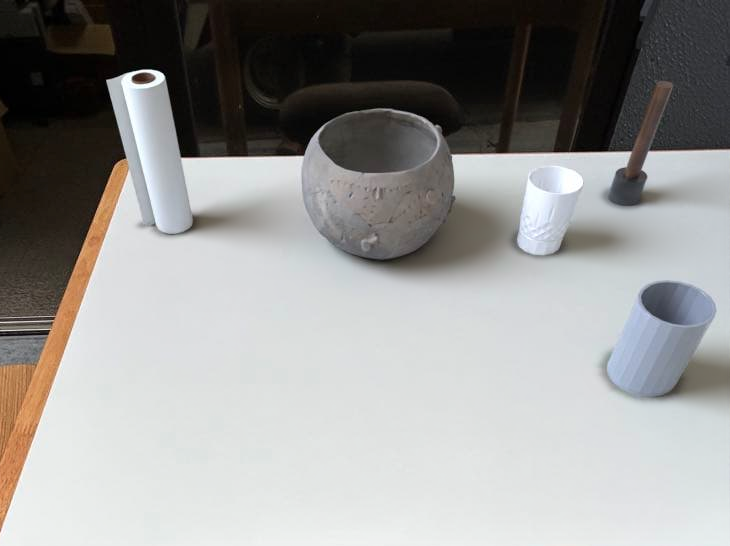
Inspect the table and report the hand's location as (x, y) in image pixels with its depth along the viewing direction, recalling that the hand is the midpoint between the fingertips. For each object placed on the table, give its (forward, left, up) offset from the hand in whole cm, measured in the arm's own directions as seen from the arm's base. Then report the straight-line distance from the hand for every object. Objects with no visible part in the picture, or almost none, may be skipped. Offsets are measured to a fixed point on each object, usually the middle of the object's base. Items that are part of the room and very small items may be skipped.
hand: (683, 52), depth 100 cm
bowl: (+32, +39, -18) cm, 54 cm away
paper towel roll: (+63, +52, -18) cm, 84 cm away
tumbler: (-14, +51, -18) cm, 56 cm away
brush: (0, +10, -18) cm, 20 cm away
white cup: (+8, +29, -18) cm, 35 cm away
